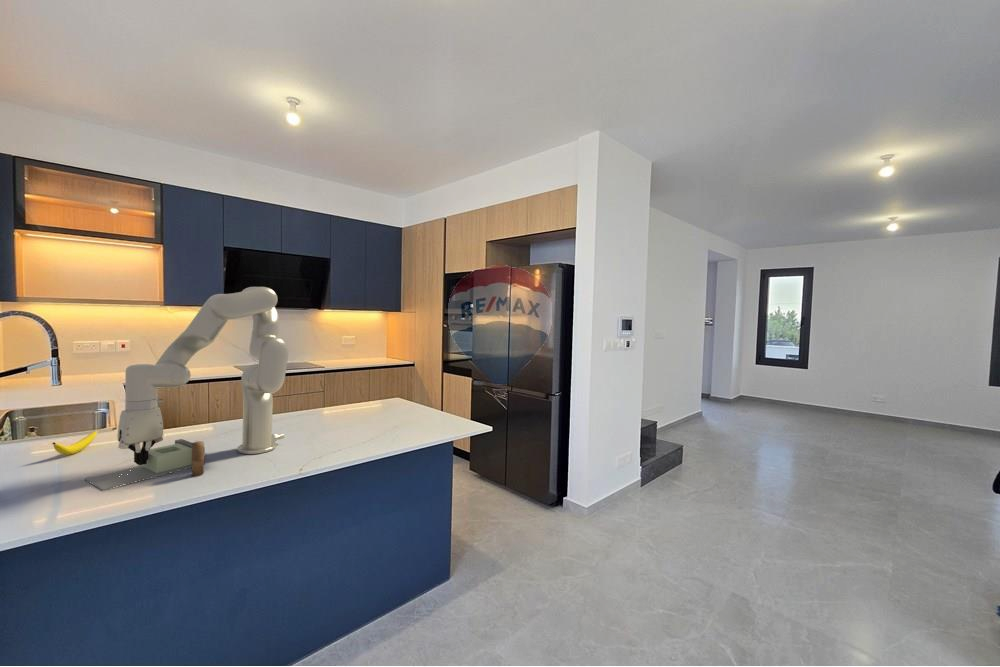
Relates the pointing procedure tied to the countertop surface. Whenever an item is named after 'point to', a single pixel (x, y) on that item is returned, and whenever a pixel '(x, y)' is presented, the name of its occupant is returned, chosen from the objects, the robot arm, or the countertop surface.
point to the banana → (75, 445)
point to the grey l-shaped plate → (131, 473)
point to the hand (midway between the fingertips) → (141, 463)
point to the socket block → (168, 458)
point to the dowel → (197, 458)
